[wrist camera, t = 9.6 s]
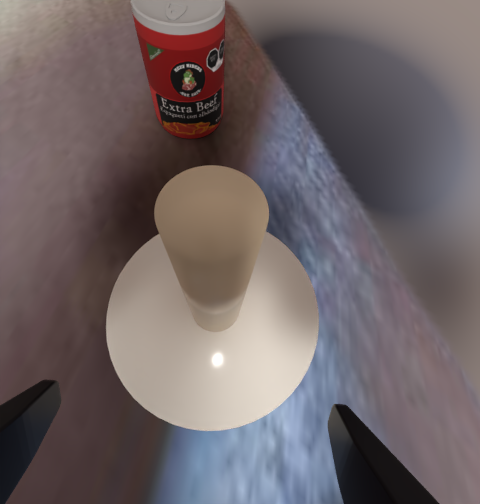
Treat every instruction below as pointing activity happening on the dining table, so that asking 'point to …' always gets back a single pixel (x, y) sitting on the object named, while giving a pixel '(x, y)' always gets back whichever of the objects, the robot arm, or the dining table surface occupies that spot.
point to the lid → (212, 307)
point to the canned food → (183, 62)
